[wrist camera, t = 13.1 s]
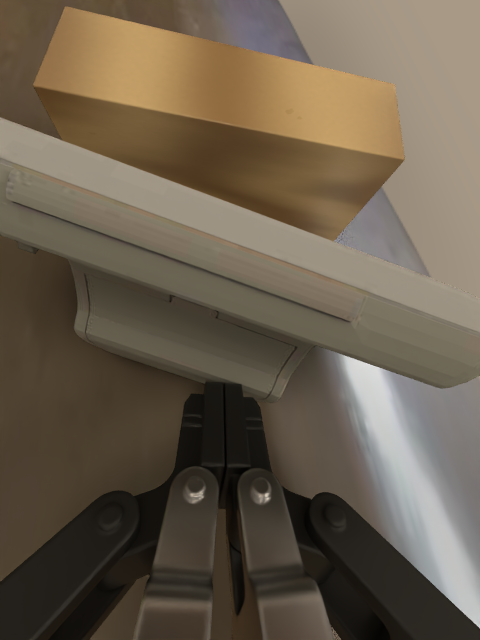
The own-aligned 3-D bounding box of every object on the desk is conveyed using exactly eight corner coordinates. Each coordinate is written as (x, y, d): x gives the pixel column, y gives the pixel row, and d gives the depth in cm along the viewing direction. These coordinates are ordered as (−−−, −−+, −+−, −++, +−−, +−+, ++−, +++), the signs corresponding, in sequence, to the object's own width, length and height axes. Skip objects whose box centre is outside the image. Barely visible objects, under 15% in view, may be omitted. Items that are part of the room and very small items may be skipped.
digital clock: (346, 322, 17) (554, 220, 7) (288, 457, 15) (493, 599, 4) (133, 199, 17) (44, -71, 7) (35, 309, 15) (-325, 121, 5)
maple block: (330, 185, 20) (395, 83, 14) (332, 242, 19) (405, 159, 12) (113, 146, 18) (64, 5, 12) (97, 206, 17) (31, 84, 10)
